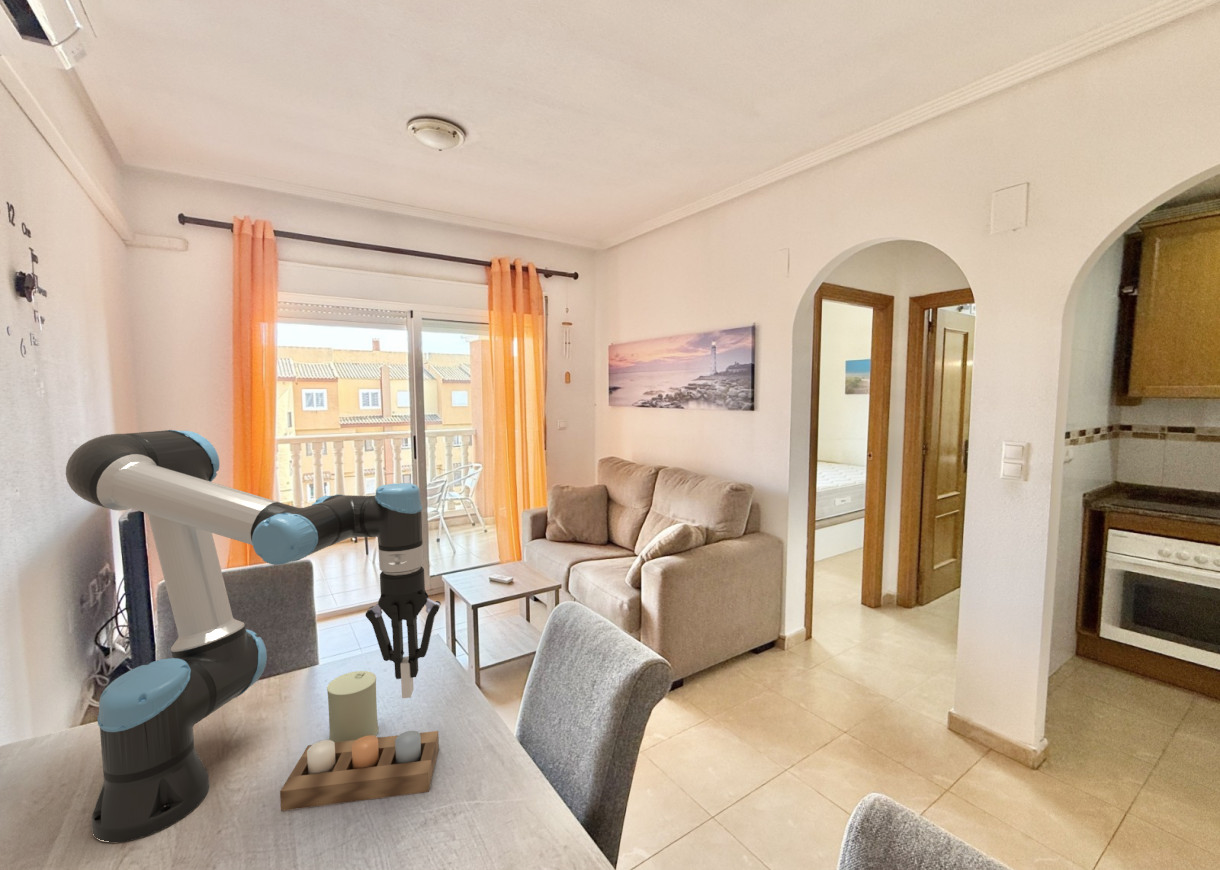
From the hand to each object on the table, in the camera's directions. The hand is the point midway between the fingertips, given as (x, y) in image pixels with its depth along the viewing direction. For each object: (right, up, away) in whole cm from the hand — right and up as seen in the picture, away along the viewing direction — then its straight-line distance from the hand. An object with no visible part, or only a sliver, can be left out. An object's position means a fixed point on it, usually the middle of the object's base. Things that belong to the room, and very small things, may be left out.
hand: (407, 693), depth 97 cm
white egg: (-15, -13, -2) cm, 20 cm away
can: (-16, -15, +12) cm, 24 cm away
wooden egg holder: (-8, -15, 0) cm, 17 cm away
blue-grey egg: (0, -13, +1) cm, 13 cm away
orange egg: (-8, -13, 0) cm, 15 cm away
